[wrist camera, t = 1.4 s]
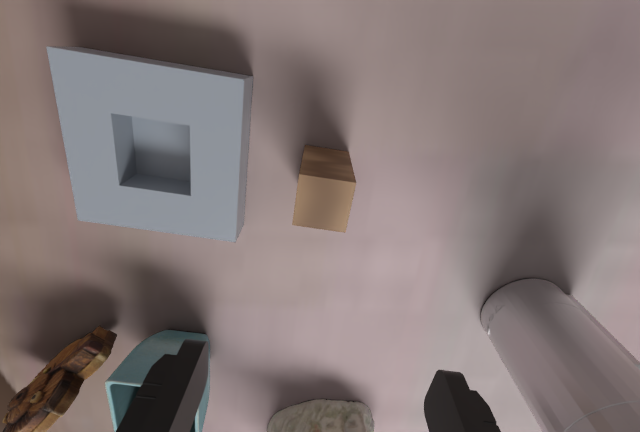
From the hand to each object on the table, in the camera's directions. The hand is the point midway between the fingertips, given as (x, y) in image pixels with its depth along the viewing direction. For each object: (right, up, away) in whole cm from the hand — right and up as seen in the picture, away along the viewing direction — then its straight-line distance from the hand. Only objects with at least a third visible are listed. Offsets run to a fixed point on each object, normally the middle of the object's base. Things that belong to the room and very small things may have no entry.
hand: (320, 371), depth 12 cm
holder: (-14, +12, +19) cm, 26 cm away
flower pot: (-16, -10, +30) cm, 36 cm away
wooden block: (0, +10, +20) cm, 22 cm away
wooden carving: (-30, -11, +31) cm, 44 cm away
